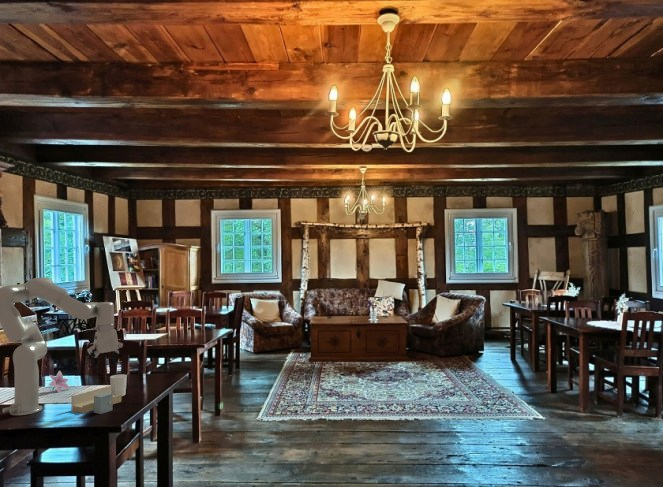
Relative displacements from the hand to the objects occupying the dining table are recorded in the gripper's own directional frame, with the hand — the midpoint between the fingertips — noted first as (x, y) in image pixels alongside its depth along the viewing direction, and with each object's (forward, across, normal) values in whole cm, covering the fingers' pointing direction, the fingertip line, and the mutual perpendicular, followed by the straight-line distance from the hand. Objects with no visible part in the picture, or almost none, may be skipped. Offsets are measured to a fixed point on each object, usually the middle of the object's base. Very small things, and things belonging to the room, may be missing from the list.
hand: (105, 363), depth 224 cm
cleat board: (+20, -2, +5) cm, 21 cm away
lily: (+20, +3, +52) cm, 56 cm away
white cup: (+21, +15, +14) cm, 29 cm away
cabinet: (+21, -4, -5) cm, 22 cm away
